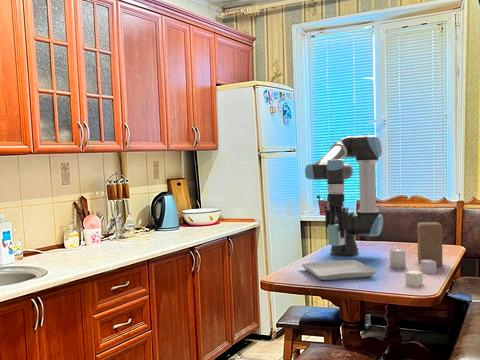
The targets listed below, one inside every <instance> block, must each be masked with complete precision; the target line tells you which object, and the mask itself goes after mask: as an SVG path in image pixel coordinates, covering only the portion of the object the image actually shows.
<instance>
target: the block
mask: <svg viewBox="0 0 480 360" xmlns="http://www.w3.org/2000/svg"><path fill="white" fill-rule="evenodd" d="M416 226H417V227H416V228H417V229H416V230H417V261H418V263H419V264H420V260H433V261H436V267H437V266H439V267H442V266H443V225H442V224H441V223H439V222H438V221H434V222H433V221H431V222H430V221H425V222H424V221H421V222H417V224H416Z"/></svg>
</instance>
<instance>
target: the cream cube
mask: <svg viewBox="0 0 480 360" xmlns="http://www.w3.org/2000/svg"><path fill="white" fill-rule="evenodd" d="M423 273H424V272H422V271H419V270H411V269H410V270H408V271H405V285H407V286H414V287H420V286H421V285H423V282H424V280H423V276H424V275H423Z"/></svg>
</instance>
